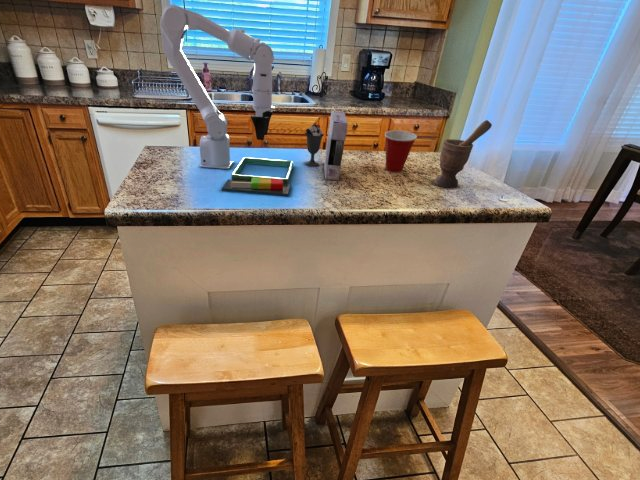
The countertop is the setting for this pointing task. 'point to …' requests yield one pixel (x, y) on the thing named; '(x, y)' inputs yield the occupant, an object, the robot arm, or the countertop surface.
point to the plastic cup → (398, 149)
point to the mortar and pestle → (457, 156)
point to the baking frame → (261, 162)
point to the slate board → (247, 189)
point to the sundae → (313, 142)
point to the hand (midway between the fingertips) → (262, 137)
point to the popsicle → (264, 183)
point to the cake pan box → (335, 145)
